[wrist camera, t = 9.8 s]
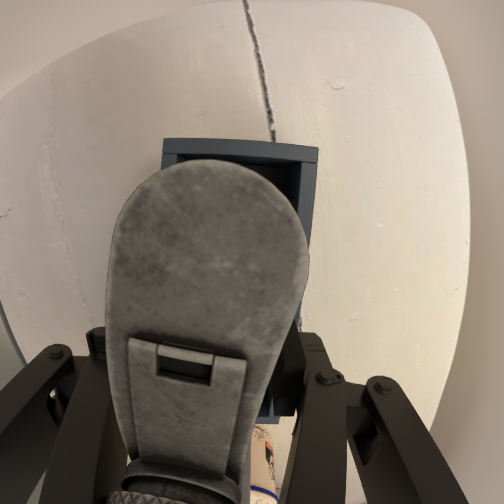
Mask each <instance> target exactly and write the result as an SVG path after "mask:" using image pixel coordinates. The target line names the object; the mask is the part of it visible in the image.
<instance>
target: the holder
mask: <svg viewBox="0 0 504 504" xmlns="http://www.w3.org/2000/svg"><path fill="white" fill-rule="evenodd" d="M318 151H319V149H318V148H317V147H310V146H303V145H295V144H286V143H276V142H265V141H252V140H237V139H214V138H164V139H163V150H162V153H163V154H162V162H161V170H163V169H165V168H167V167H169V166H171V165H173V164H177V163H181V162H185V161H189V160H200V159H216V160H221V161H227V162H232V163H236V164H238V165H241V166H243V167H246V168H248V169H251V170H253V171H255V172H257V173H258V174H260V175H261V176H263V177H264V178H266V179H267V180H268V181H270V182H271V183H273V184H274V185H275V186H276V187H277V188H278V189H279V190H280V191H281V192H282V193H283V195H284V196H285V197H286V198H287V199H288V200H289V202H290V203H291V205H292V206H293V208H294V210H295V211H296V213H297V214H298V216H299V218H300V220H301V223H302V226H303V228H304V231H305V234H306V237H307V243H308V250H309V244H310V236H311V227H312V218H313V208H314V198H315V188H316V176H317V164H316V163H318ZM301 302H302V300H301ZM301 302H300V305H299V307H298V310H297V312H296V315H295V321H296V325H297V327H298V321H299V315H300V309H301ZM279 419H280V416H274V409H273V396H272V382H271V379H270V381H269V384H268V386H267V389H266V392H265V395H264V398H263V401H262V404H261V407H260V410H259V413H258V416H257V419H256V422H255V424H278V423H279Z"/></svg>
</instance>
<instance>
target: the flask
mask: <svg viewBox="0 0 504 504" xmlns="http://www.w3.org/2000/svg"><path fill="white" fill-rule="evenodd" d="M309 258H310V257H309V250H308V243H307V237H306V234H305V231H304V228H303V226H302V223H301V220H300V218H299V216H298V214H297V213H296V211H295V210H294V208H293V206H292V205H291V203H290V202H289V200H288V199H287V198H286V197H285V196H284V195H283V193H282V192H281V191H280V190H279V189H278V188H277V187H276V186H275V185H274V184H273V183H271V182H270V181H268V180H267V179H266V178H264V177H263V176H261V175H260V174H258V173H257V172H255V171H253V170H251V169H248V168H246V167H243V166H241V165H238V164H236V163H232V162H227V161H221V160H216V159H200V160H189V161H185V162H181V163H177V164H173V165H171V166H169V167H167V168H165V169H163V170H161V171H159V172H157V173H155V174H153V175H152V176H151V177H149V178H148V179H147V180H146V181H144V182H143V183H142V184H141V185H139V186H138V187H137V189H136V190H135V191H134V192H133V193H132V195H131V196H130V197H129V198H128V200H127V201H126V203H125V205H124V206H123V208H122V210H121V212H120V214H119V216H118V218H117V222H116V225H115V229H114V233H113V237H112V243H111V251H110V259H109V267H108V277H107V288H106V309H105V340H106V357H107V367H108V375H109V383H110V390H111V395H112V400H113V405H114V410H115V414H116V419H117V422H118V426H119V429H120V432H121V435H122V438H123V441H124V444H125V447H126V450H127V452H128V455H129V457H130V459H131V462H130V463H129V464H128V466H127V468H126V472H125V474H124V477H123V478H122V480H121V482H120V487H121V489H122V492H118V491H115V492H114V493H110V495H108V496H107V500H106V504H250V478H251V436H252V432H253V429H254V426H255V422H256V419H257V416H258V413H259V410H260V407H261V404H262V401H263V398H264V395H265V392H266V389H267V386H268V384H269V381H270V379H271V376H272V374H273V371H274V369H275V366H276V363H277V361H278V358H279V355H280V353H281V350H282V347H283V344H284V342H285V340H286V337H287V335H288V332H289V330H290V327H291V325H292V323H293V320H294V318H295V315H296V312H297V310H298V307H299V305H300V302H301V300H302V297H303V294H304V290H305V287H306V283H307V280H308V273H309Z"/></svg>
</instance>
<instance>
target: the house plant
mask: <svg viewBox="0 0 504 504" xmlns="http://www.w3.org/2000/svg"><path fill="white" fill-rule="evenodd" d="M280 492H281V489H275V494H276V496H277V497H278V500H279V496H280Z"/></svg>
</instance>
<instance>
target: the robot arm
mask: <svg viewBox="0 0 504 504" xmlns="http://www.w3.org/2000/svg"><path fill="white" fill-rule="evenodd" d="M86 338H87V343H88V347H89V351H90V354H89V356H73V355H72V351H71V349H70V348H69V347H68V346H66V345H63V344H53V345H50V346H48V347H46V348H45V349H44V350H43V351H41V352H40V353H39V354H38V355H37V356H36V357H35V358H34V359H33V360H32V361H31V362H30V363H28V364H27V365H26V366H25V367H24V368H23V369H22V370H21V371H20V372H19V373H18V374H17V375H16V376H15V377H14V378H13V379H12V380H11V381H10V382H9V383H8V384H7V385H6V386H5V387H4V388H3V389H2V390H1V391H0V504H26V503H27V501H28V499H29V498H30V496H31V494H32V492H33V491H34V489H35V487H36V485H37V484H38V482H39V480H40V479H41V477H42V475H43V474H44V472H45V470H46V469H47V470H46V474H45V478H44V482H43V486H42V490H41V495H40V499H39V504H106V500H107V496H108V495H110V493H114V492H115V491H118V492H122V489H121V487H120V482H121V480H122V478H123V477H124V474H125V472H126V468H127V457H128V452H127V450H126V447H125V444H124V441H123V438H122V435H121V432H120V429H119V426H118V422H117V419H116V414H115V410H114V405H113V400H112V395H111V390H110V383H109V375H108V367H107V357H106V340H105V327H97V328H93V329H92V330H90V331H88V332H87V333H86ZM271 382H272V396H273V409H274V416H294V413H295V410H297V419H296V423H295V426H294V430H293V433H292V436H293V438H292V443H291V448H290V453H289V457H288V462H287V467H286V471H285V475H284V480H283V484H282V488H281V492H280V496H279V500H278V504H345V495H346V471H347V440H348V443H349V446H350V449H351V452H352V455H353V458H354V462H355V465H356V468H357V471H358V474H359V477H360V480H361V484H362V487H363V490H364V493H365V497H366V500H367V503H368V504H469V503H468V501H467V499H466V497H465V495H464V493H463V491H462V490H461V488H460V486H459V484H458V482H457V480H456V479H455V477H454V475H453V473H452V471H451V469H450V468H449V466H448V464H447V462H446V461H445V459H444V457H443V456H442V454H441V452H440V450H439V448H438V447H437V445H436V443H435V442H434V440H433V438H432V437H431V435H430V433H429V432H428V430H427V428H426V427H425V425H424V423H423V422H422V420H421V418H420V417H419V415H418V414H417V412H416V410H415V409H414V407H413V406H412V404H411V402H410V401H409V399H408V398H407V396H406V395H405V393H404V392H403V390H402V388H401V387H400V385H399V384H398V383H397V382H396V381H395V380H393V379H391V378H389V377H385V376H374V377H371V378H370V379H368V381H367V383H366V385H360V384H354V383H350V382H347V381H345V379H344V376H343V375H342V374H341V373H340V372H339V371H337V370H335V369H333V367H332V365H331V362H330V360H329V357H328V355H327V352H326V350H325V347H324V345H323V342H322V340H321V338H320V337H319V336H318V335H316V334H315V333H308V332H298V328H297V325H296V321H295V318H294V320H293V323H292V325H291V327H290V330H289V332H288V335H287V337H286V340H285V342H284V344H283V347H282V350H281V353H280V355H279V358H278V361H277V363H276V366H275V369H274V371H273V374H272V376H271ZM53 389H54V392H55V395H54V396H53V397H52V398H51V396H50V393H51V392H52V391H53Z"/></svg>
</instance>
